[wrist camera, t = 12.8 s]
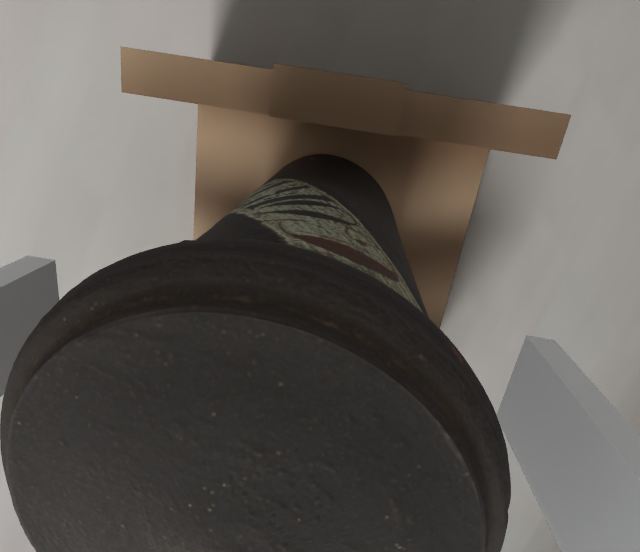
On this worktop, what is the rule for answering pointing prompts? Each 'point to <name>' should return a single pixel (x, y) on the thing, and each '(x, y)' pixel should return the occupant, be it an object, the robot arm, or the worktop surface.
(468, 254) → the worktop surface
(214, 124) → the holder
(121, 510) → the container
